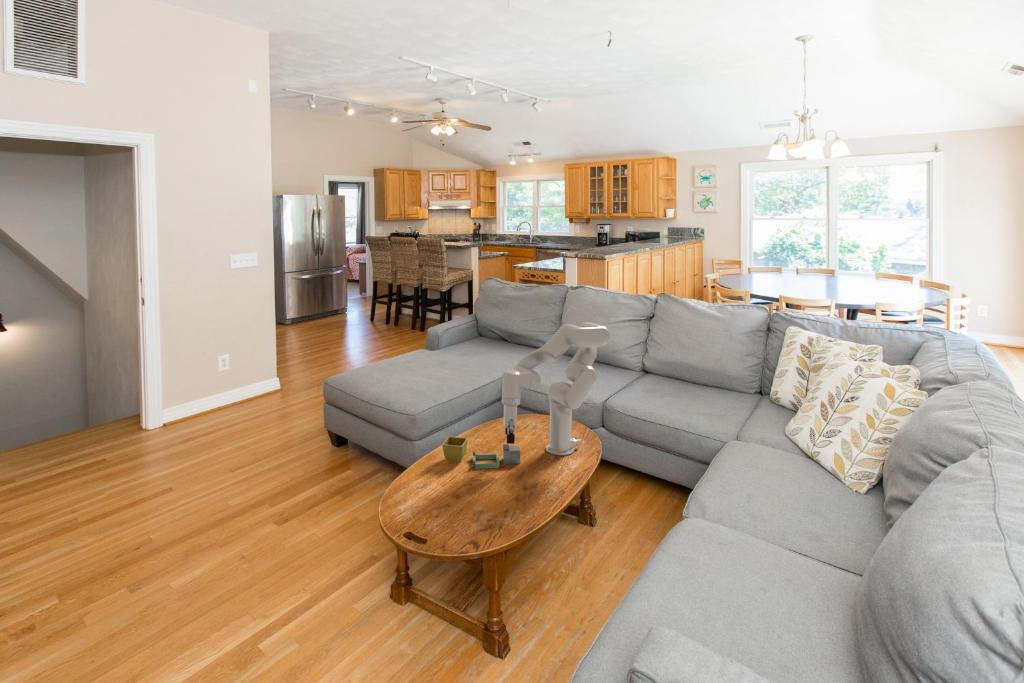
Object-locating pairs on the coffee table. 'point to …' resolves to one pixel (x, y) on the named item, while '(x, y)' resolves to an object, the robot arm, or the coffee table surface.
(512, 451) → the chute block
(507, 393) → the robot arm
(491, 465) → the frame
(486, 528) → the coffee table surface
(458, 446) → the flower pot
